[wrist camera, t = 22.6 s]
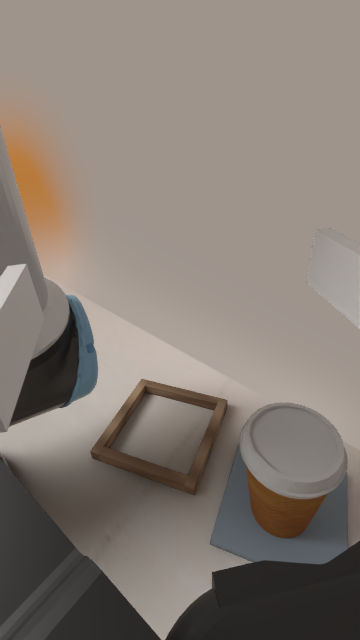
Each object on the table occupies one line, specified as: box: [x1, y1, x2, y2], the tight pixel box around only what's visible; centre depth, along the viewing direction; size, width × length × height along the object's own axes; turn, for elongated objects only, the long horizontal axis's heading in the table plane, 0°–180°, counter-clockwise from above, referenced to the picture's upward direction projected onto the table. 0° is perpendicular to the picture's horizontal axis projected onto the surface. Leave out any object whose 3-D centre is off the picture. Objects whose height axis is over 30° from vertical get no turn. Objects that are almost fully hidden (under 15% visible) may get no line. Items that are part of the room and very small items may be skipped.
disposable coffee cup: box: [240, 403, 347, 538], centre depth 33 cm, size 10×10×12 cm
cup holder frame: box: [90, 379, 227, 495], centre depth 47 cm, size 14×14×2 cm
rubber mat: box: [210, 443, 348, 564], centre depth 37 cm, size 13×13×1 cm
